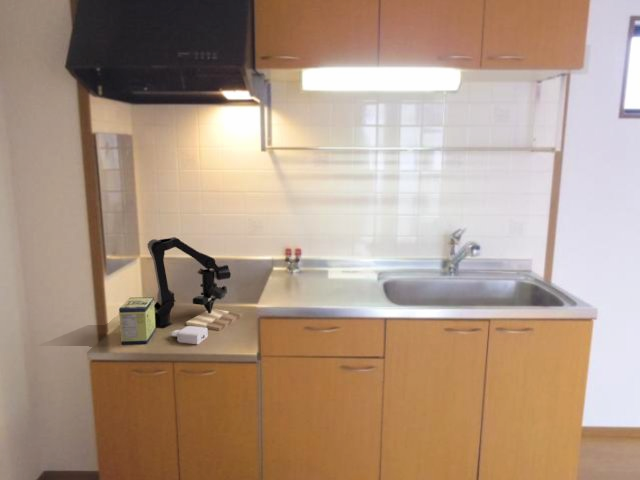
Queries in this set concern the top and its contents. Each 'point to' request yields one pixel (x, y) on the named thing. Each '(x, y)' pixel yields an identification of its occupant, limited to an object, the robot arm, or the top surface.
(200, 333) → the charger
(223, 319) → the walnut board
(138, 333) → the protein box
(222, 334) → the top surface
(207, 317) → the oak plank
